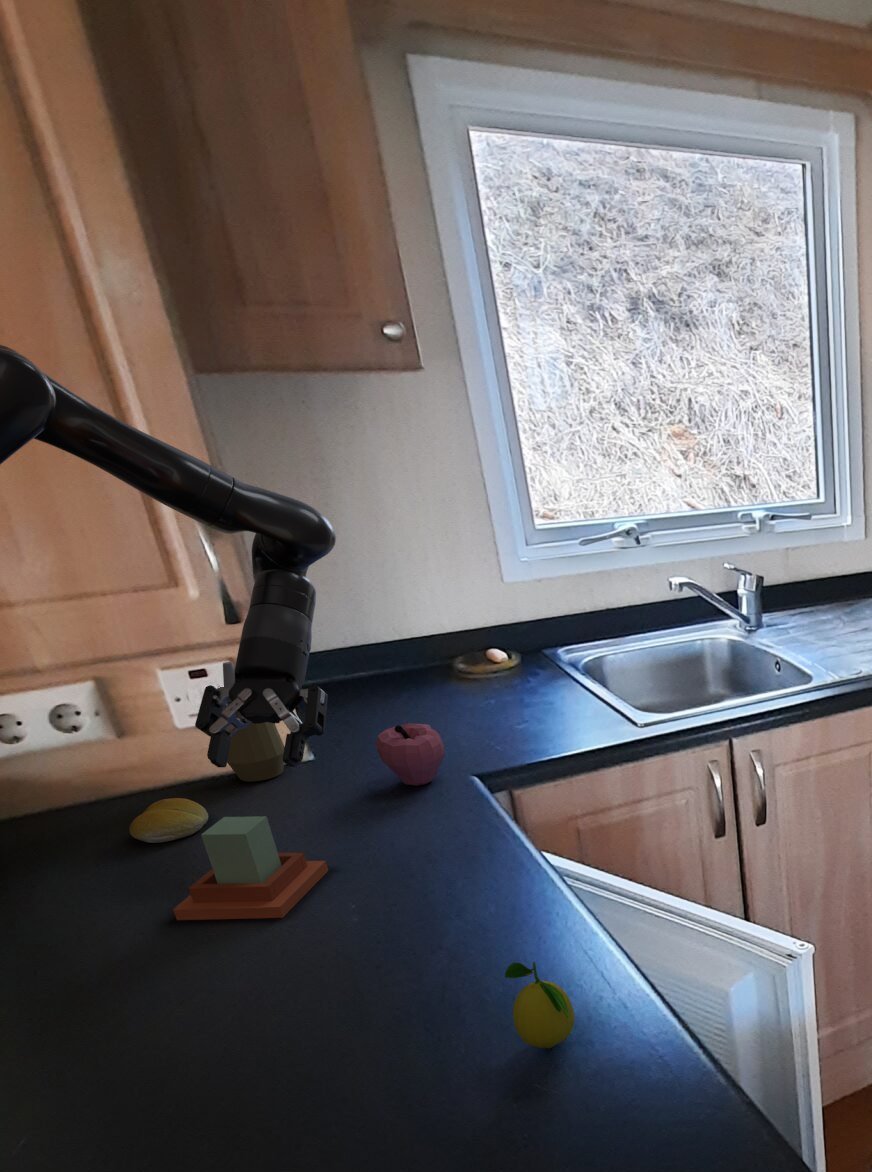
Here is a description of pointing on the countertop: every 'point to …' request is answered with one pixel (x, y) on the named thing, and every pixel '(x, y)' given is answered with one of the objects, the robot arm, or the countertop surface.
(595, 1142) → the countertop surface
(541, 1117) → the countertop surface
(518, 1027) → the lemon
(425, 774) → the apple
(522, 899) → the countertop surface
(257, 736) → the squeeze bottle
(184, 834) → the bread roll
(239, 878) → the sage pad block
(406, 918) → the countertop surface
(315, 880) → the base pad
